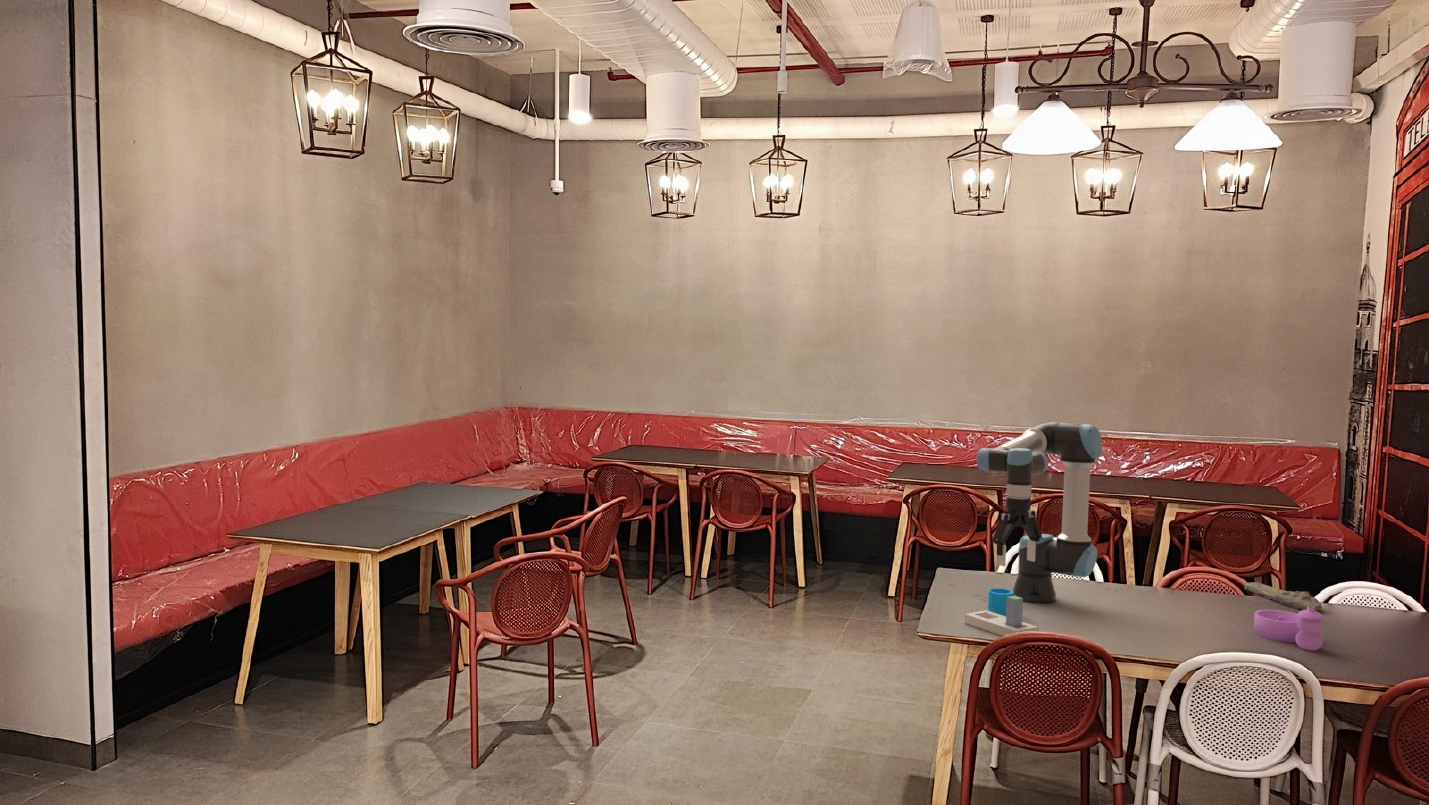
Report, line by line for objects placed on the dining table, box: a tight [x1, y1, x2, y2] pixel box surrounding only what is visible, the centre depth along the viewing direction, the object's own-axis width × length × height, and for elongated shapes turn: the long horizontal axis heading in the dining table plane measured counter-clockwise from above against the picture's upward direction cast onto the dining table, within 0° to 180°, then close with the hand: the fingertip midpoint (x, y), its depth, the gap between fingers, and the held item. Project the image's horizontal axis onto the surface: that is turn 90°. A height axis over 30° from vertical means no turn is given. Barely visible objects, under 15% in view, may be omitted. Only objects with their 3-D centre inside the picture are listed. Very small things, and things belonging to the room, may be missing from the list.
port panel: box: [964, 609, 1039, 637], centre depth 331 cm, size 22×10×3 cm, turn 31°
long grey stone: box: [1244, 581, 1323, 612], centre depth 375 cm, size 35×5×10 cm
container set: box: [1253, 606, 1324, 652], centre depth 325 cm, size 25×15×13 cm, turn 5°
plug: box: [1006, 596, 1024, 628], centre depth 326 cm, size 4×4×12 cm
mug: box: [987, 587, 1013, 616], centre depth 350 cm, size 12×8×8 cm
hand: (1016, 563), depth 325 cm, fingers open, 13 cm apart
